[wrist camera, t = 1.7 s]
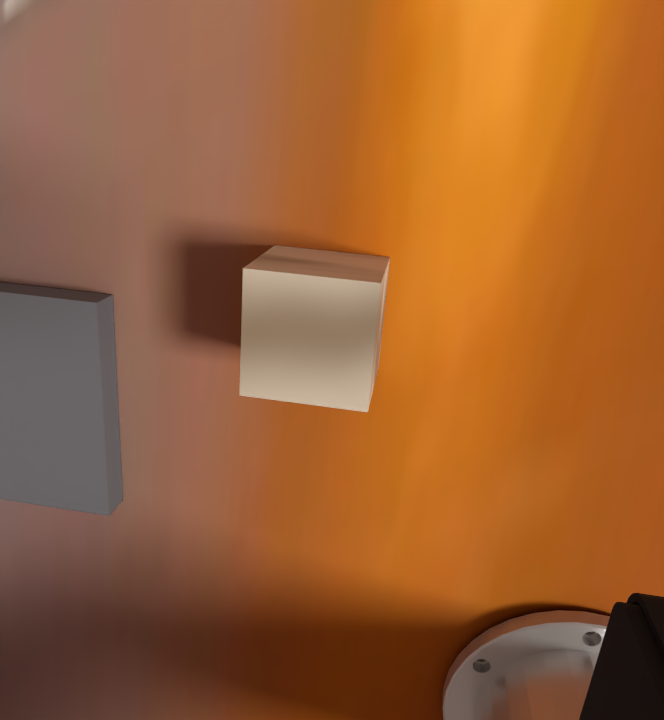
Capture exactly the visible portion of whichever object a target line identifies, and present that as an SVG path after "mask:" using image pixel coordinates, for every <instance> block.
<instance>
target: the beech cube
mask: <svg viewBox="0 0 664 720" xmlns="http://www.w3.org/2000/svg"><path fill="white" fill-rule="evenodd" d="M389 263H390V257H384V256H374V255H364V254H355V253H345V252H335V251H326V250H316V249H306V248H296V247H287V246H277V245H274V246H273V247H272V248H270V249H269V250H268V251H266V252H265V253H263V254H262V255H261V256H259V257H258V258H256V259H255V260H254V261H252V262H251V263H249V264H248V265H247V266H245V267H244V268H243V283H242V322H241V360H240V395H241V396H248V397H256V398H264V399H271V400H279V401H286V402H294V403H302V404H309V405H317V406H324V407H332V408H339V409H347V410H355V411H362V412H368V409H369V405H370V400H371V396H372V392H373V388H374V383H375V379H376V375H377V371H378V366H379V356H380V347H381V338H382V328H383V319H384V310H385V301H386V291H387V282H388V273H389Z"/></svg>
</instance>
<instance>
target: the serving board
mask: <svg viewBox="0 0 664 720" xmlns="http://www.w3.org/2000/svg"><path fill="white" fill-rule="evenodd" d="M0 499H3V500H9V501H16V502H22V503H29V504H35V505H42V506H48V507H55V508H61V509H68V510H74V511H81V512H88V513H94V514H101V515H107V516H110V514H111V513H112V512H113V511H114V510H115V509H116V507H117V506H118V505H119V504H120V503H121V501H122V500H123V491H122V470H121V450H120V430H119V410H118V389H117V369H116V349H115V329H114V308H113V295H111V294H102V293H93V292H84V291H75V290H66V289H58V288H49V287H40V286H31V285H22V284H13V283H4V282H0Z"/></svg>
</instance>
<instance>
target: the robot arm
mask: <svg viewBox="0 0 664 720" xmlns="http://www.w3.org/2000/svg"><path fill="white" fill-rule="evenodd" d="M443 720H664V597H660V596H653V595H646V594H640V593H633V594H632V595H631V596H630V597H629V598H628V601H627V603H623V602H616V604H615V605H614V607H613V609H612V612H611V615H610V616H605V615H600V614H595V613H590V612H585V611H563V610H557V611H547V612H538V613H532V614H528V615H524V616H520V617H516V618H513V619H509V620H507V621H505V622H503V623H501V624H498V625H496V626H494V627H492V628H489V629H488V630H487V631H485V632H484V633H482V634H481V635H479V636H478V637H476V638H475V639H473V640H472V641H471V642H470V643H469V644H468V645H467V646H466V647H465V648H464V649H463V650H462V651H461V652H460V653H459V654H458V656H457V658H456V659H455V661H454V662H453V664H452V666H451V667H450V669H449V671H448V674H447V677H446V680H445V684H444V687H443Z"/></svg>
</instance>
